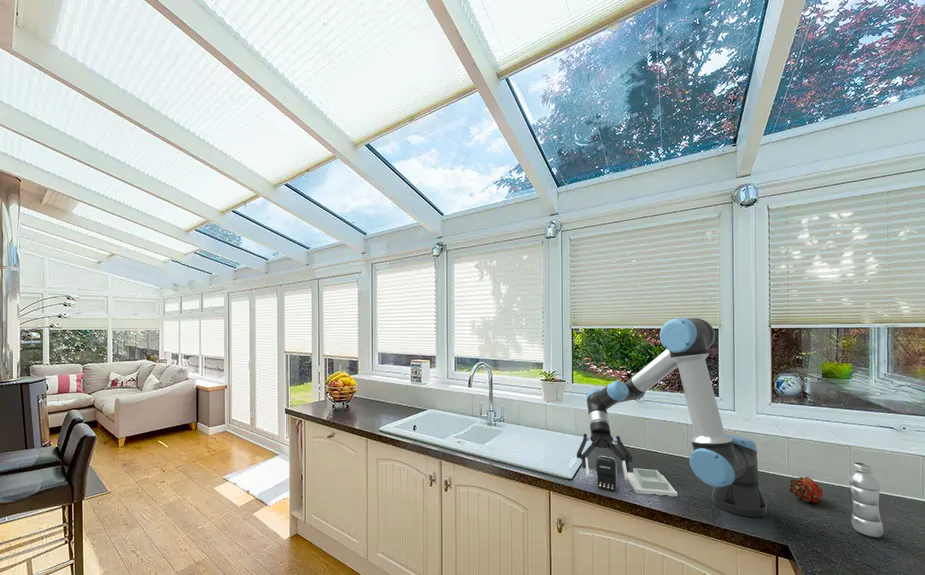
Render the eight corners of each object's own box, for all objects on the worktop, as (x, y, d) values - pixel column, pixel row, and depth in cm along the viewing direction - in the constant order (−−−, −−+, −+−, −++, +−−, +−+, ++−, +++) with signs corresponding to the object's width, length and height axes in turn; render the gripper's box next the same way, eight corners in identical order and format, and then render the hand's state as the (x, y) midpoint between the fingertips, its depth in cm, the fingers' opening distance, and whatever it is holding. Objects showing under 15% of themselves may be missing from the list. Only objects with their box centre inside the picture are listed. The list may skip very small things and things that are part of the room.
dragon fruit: (801, 510, 128) (806, 504, 135) (828, 502, 123) (831, 496, 131) (781, 484, 132) (787, 479, 140) (806, 475, 128) (811, 471, 136)
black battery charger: (595, 488, 139) (595, 457, 140) (598, 485, 143) (597, 454, 144) (615, 493, 136) (614, 461, 137) (617, 489, 139) (616, 457, 140)
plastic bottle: (865, 527, 114) (860, 460, 116) (891, 540, 107) (885, 469, 109) (845, 528, 114) (840, 460, 116) (870, 541, 107) (864, 469, 109)
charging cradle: (662, 478, 149) (662, 468, 149) (677, 496, 133) (677, 486, 134) (625, 475, 152) (625, 465, 152) (635, 492, 136) (635, 482, 137)
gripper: (630, 431, 153) (641, 485, 137) (567, 428, 158) (571, 479, 142) (633, 422, 149) (645, 476, 133) (568, 418, 154) (572, 470, 138)
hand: (607, 478), depth 138 cm, fingers open, 13 cm apart
